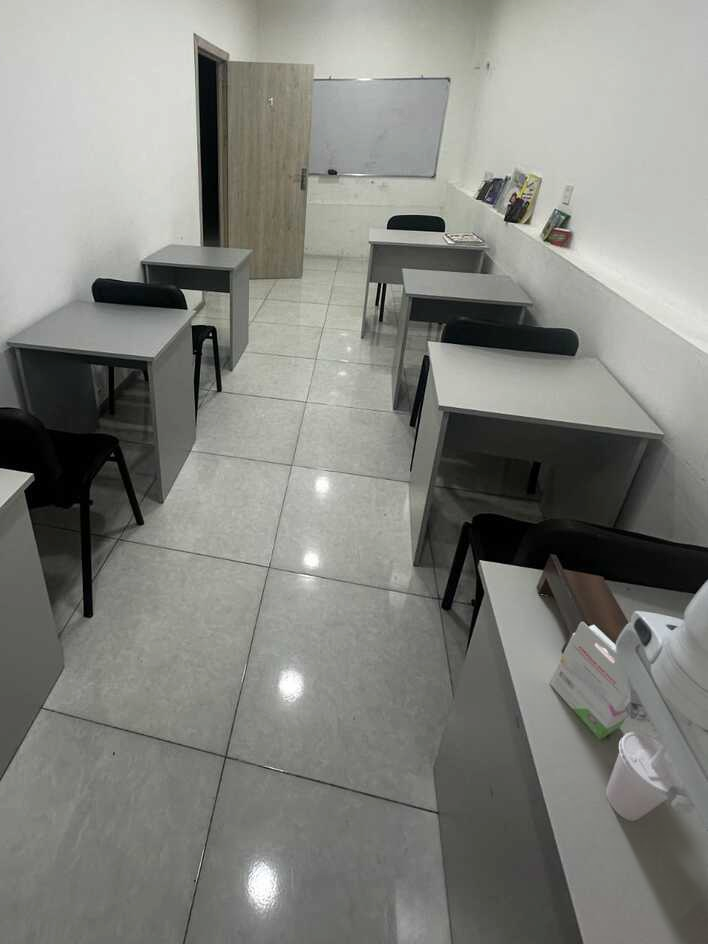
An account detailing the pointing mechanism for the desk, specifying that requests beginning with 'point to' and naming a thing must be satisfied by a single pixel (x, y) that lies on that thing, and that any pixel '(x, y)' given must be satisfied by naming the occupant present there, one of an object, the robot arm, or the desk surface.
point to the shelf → (582, 600)
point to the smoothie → (640, 776)
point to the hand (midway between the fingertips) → (653, 755)
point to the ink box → (592, 680)
